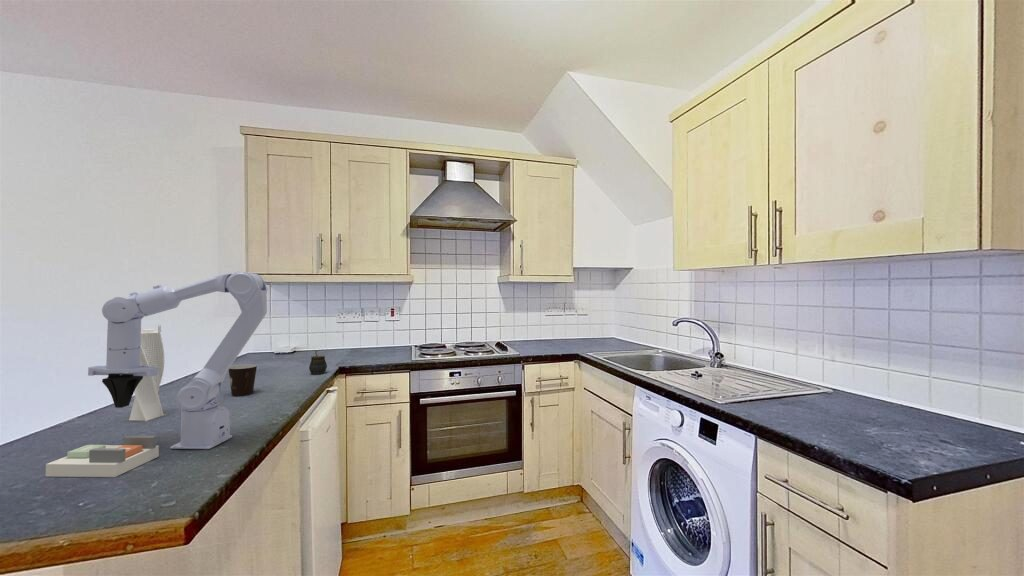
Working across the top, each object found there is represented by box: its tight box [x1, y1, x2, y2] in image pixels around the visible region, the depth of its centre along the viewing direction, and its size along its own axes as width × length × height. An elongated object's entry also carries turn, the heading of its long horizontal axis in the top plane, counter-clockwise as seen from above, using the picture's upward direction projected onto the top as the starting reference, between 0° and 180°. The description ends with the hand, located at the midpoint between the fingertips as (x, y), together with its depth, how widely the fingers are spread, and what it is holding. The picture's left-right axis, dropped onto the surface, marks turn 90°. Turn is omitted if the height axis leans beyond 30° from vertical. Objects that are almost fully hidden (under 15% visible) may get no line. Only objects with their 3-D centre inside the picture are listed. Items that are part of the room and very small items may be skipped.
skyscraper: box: [124, 323, 169, 423], centre depth 118 cm, size 8×8×28 cm
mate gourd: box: [308, 350, 328, 375], centre depth 182 cm, size 7×8×10 cm
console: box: [45, 435, 160, 478], centre depth 86 cm, size 14×10×5 cm
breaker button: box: [115, 445, 142, 459], centre depth 86 cm, size 4×4×3 cm
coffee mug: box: [228, 364, 258, 397], centre depth 144 cm, size 12×9×10 cm
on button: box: [66, 444, 107, 459], centre depth 86 cm, size 4×4×3 cm
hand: (122, 406), depth 94 cm, fingers closed
